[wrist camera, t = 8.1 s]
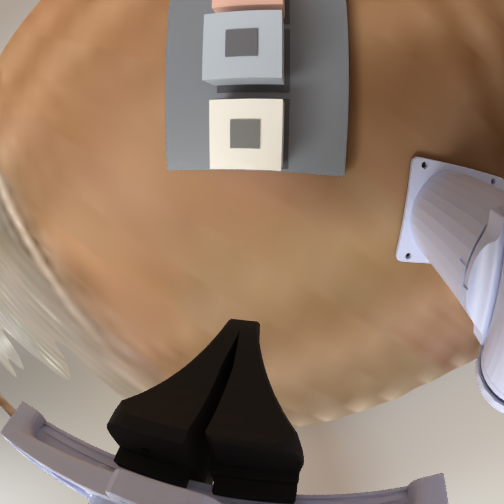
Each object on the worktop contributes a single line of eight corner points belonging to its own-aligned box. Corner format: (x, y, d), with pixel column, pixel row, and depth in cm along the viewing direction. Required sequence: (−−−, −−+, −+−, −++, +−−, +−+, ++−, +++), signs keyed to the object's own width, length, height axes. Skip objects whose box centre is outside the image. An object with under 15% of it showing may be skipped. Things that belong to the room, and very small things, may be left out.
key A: (284, 102, 16) (282, 99, 13) (282, 165, 17) (280, 171, 15) (220, 102, 16) (208, 100, 14) (220, 163, 18) (209, 169, 16)
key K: (284, 24, 12) (281, 9, 10) (283, 84, 14) (281, 77, 12) (216, 27, 13) (203, 13, 11) (214, 85, 15) (201, 79, 12)
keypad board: (336, -59, 10) (337, -67, 9) (341, 173, 18) (344, 176, 17) (182, -52, 11) (177, -59, 10) (173, 167, 20) (166, 170, 19)
